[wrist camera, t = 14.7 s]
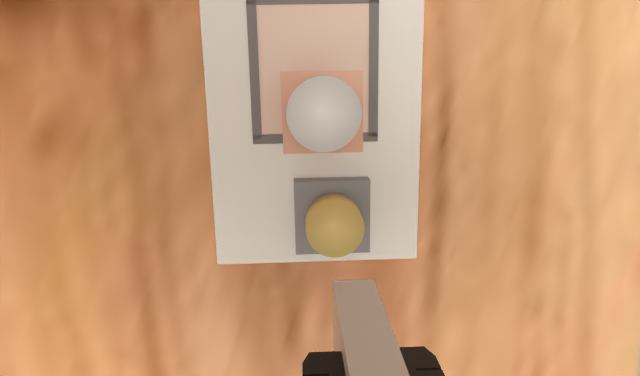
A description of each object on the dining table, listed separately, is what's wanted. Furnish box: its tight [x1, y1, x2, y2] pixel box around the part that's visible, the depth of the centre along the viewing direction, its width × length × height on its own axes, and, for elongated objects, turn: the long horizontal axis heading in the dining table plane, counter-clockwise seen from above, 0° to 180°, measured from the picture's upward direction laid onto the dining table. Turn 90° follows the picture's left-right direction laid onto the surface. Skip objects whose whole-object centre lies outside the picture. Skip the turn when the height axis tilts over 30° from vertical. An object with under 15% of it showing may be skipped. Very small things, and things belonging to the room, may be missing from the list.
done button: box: [305, 193, 365, 258], centre depth 30 cm, size 4×4×2 cm
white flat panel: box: [199, 0, 424, 264], centre depth 30 cm, size 28×14×2 cm, turn 1°
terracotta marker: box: [281, 70, 363, 154], centre depth 24 cm, size 3×3×12 cm
